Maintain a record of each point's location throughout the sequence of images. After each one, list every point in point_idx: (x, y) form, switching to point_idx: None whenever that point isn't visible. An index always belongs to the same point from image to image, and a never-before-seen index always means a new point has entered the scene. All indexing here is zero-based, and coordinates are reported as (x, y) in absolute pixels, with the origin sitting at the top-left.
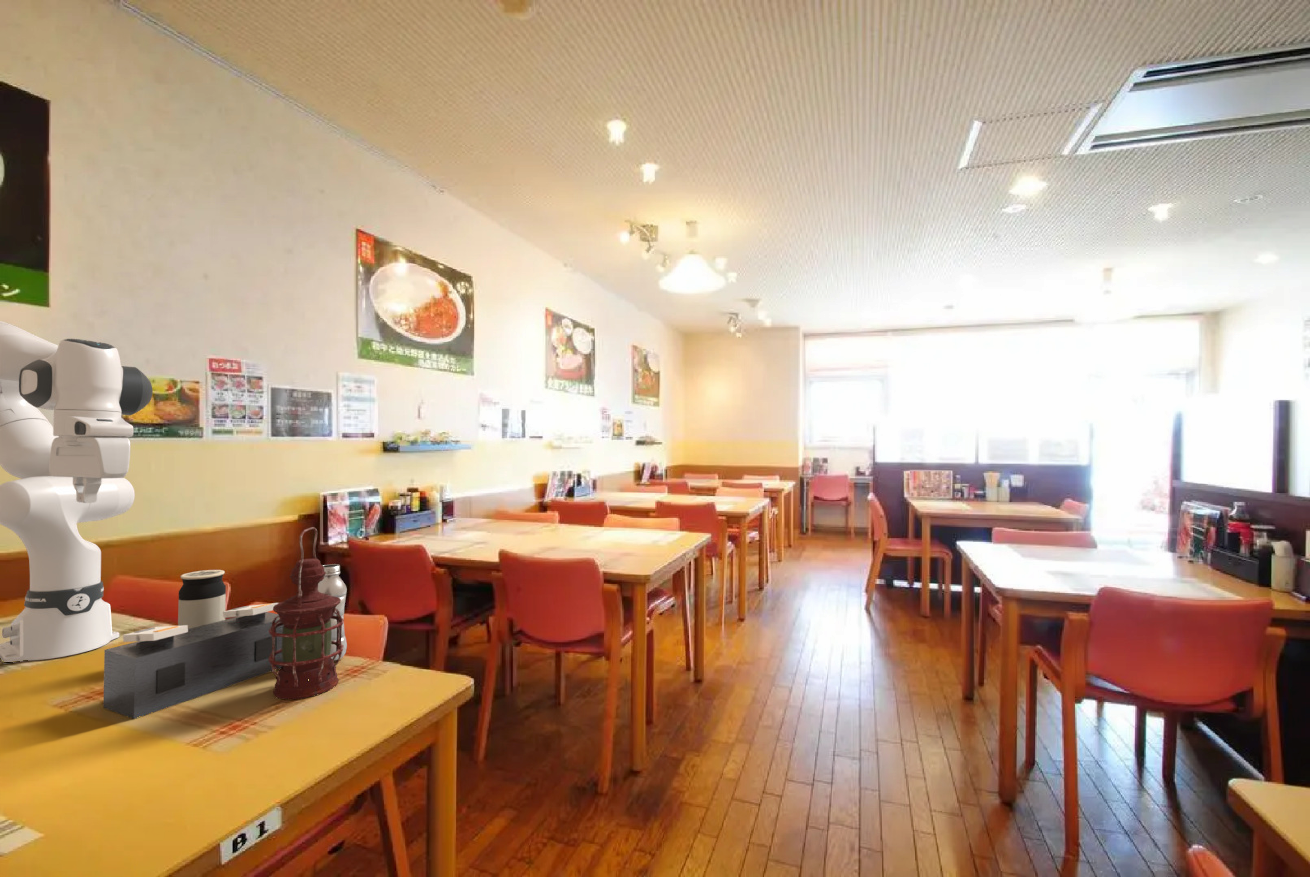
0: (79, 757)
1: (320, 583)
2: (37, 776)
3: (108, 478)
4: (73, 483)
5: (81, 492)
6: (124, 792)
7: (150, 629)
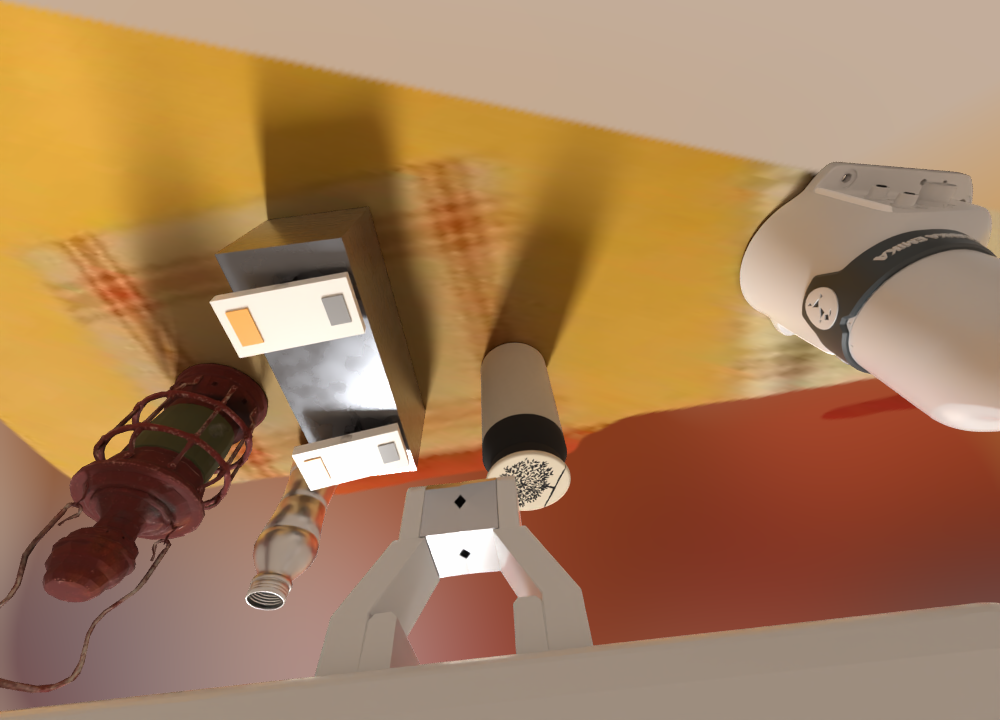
0: (139, 119)
1: (268, 557)
2: (90, 53)
3: None
4: (566, 590)
5: (493, 541)
6: None
7: (328, 317)
